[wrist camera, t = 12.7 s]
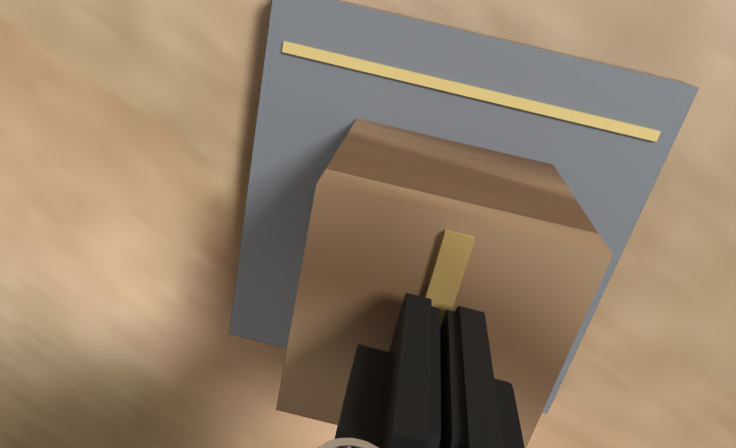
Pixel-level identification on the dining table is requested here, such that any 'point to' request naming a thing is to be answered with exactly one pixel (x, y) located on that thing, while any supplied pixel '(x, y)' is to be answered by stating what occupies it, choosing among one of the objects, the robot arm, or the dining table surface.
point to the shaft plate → (435, 130)
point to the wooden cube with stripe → (439, 262)
